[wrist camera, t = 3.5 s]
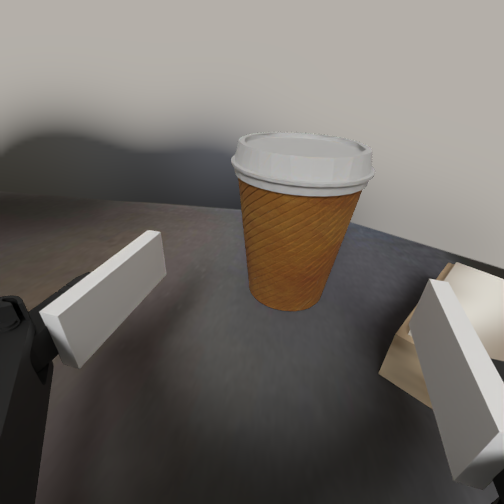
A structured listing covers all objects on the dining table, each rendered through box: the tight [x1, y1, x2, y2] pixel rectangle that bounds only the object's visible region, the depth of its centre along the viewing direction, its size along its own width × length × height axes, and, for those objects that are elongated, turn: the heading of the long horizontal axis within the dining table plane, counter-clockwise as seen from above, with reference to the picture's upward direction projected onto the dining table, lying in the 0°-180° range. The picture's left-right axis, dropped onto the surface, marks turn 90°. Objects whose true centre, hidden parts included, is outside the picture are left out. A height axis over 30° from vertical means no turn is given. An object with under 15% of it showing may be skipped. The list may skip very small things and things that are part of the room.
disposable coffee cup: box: [231, 132, 375, 311], centre depth 22 cm, size 10×10×12 cm
